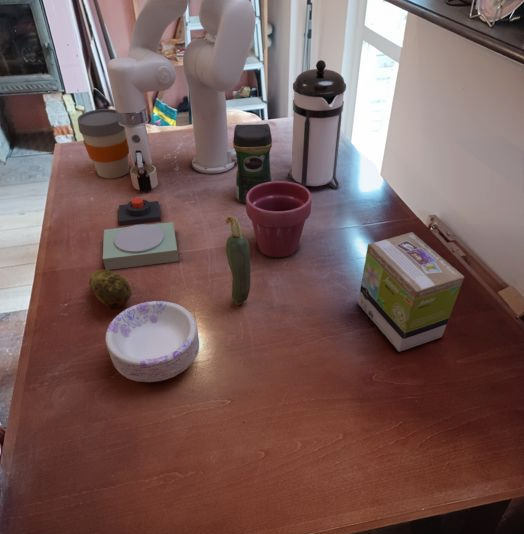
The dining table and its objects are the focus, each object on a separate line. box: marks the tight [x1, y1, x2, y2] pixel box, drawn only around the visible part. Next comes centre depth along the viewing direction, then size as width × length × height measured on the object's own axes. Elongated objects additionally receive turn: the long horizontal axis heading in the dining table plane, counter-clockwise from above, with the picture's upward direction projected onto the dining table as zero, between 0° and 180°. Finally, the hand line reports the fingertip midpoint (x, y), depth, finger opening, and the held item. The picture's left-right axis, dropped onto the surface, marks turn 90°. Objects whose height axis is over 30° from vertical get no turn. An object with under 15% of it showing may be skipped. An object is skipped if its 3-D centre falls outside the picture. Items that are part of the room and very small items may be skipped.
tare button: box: [130, 197, 144, 208], centre depth 118 cm, size 3×3×2 cm
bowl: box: [129, 164, 159, 192], centre depth 130 cm, size 7×7×5 cm
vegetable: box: [225, 215, 252, 306], centre depth 89 cm, size 4×4×20 cm
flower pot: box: [245, 180, 312, 258], centre depth 106 cm, size 14×14×13 cm
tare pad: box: [118, 199, 162, 227], centre depth 120 cm, size 10×8×3 cm
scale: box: [102, 221, 180, 271], centre depth 109 cm, size 16×12×4 cm
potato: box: [88, 268, 132, 310], centre depth 95 cm, size 8×13×8 cm, turn 12°
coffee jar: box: [232, 123, 273, 204], centre depth 120 cm, size 10×8×19 cm
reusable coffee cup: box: [77, 108, 130, 179], centre depth 133 cm, size 13×13×15 cm
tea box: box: [357, 231, 465, 353], centre depth 87 cm, size 15×10×15 cm, turn 23°
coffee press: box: [287, 59, 347, 190], centre depth 123 cm, size 17×16×30 cm
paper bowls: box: [104, 300, 200, 383], centre depth 83 cm, size 15×15×8 cm
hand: (145, 182), depth 131 cm, fingers closed on bowl, 7 cm apart
